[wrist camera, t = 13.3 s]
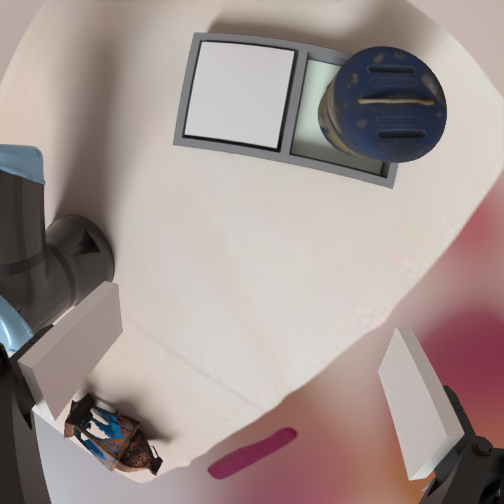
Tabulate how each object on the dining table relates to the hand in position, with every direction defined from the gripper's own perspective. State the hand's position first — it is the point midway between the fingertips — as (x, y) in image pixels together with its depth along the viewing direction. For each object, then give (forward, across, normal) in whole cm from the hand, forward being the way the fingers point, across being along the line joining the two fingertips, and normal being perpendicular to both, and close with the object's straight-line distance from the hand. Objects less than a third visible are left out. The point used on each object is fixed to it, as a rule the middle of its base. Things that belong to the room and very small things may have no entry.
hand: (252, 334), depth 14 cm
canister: (+28, +8, +13) cm, 32 cm away
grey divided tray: (+29, +1, +14) cm, 32 cm away
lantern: (+30, -29, -57) cm, 71 cm away
